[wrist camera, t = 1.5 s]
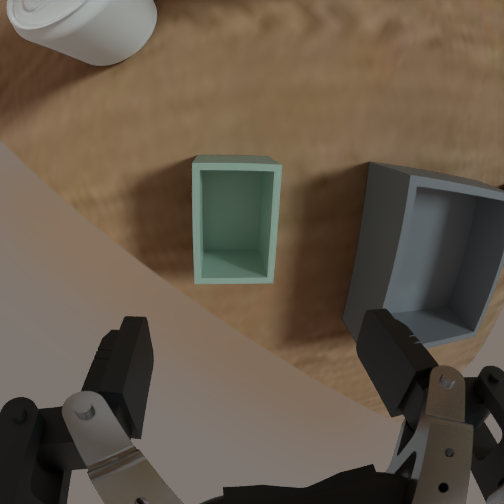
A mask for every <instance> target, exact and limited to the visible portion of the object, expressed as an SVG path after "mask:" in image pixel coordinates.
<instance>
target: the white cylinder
mask: <svg viewBox="0 0 504 504" xmlns="http://www.w3.org/2000/svg"><path fill="white" fill-rule="evenodd" d="M6 9H7V16H8V18H9V20H10V22H11V23H12V24H13V27H14V29H15V31H16V32H17V33H18V34H19V35H20V36H21V37H22V38H24V39H26V40H28V41H31V42H33V43H36V44H39V45H42V46H45V47H47V48H50V49H53V50H55V51H58V52H61V53H63V54H66V55H68V56H71V57H73V58H76V59H78V60H81V61H83V62H85V63H88V64H91V65H96V66H107V65H112V64H116V63H118V62H121V61H123V60H125V59H127V58H129V57H130V56H132V55H133V54H135V53H136V52H137V51H138V50H140V49H141V48H142V47H143V46H144V44H145V43H146V42H147V41H148V39H149V38H150V36H151V35H152V33H153V31H154V28H155V25H156V21H157V9H156V5H155V3H154V1H153V0H7V6H6Z"/></svg>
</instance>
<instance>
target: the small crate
mask: <svg viewBox="0 0 504 504" xmlns="http://www.w3.org/2000/svg"><path fill="white" fill-rule="evenodd" d="M281 173H282V164H280V163H278V162H277V161H275V160H273V159H272V158H270V157H268V156H246V155H197V157H196V158H195V159H194V161H193V162H192V220H193V256H194V280H195V284H248V283H273V280H274V268H275V255H276V243H277V230H278V216H279V202H280V188H281Z"/></svg>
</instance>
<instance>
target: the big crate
mask: <svg viewBox="0 0 504 504" xmlns="http://www.w3.org/2000/svg"><path fill="white" fill-rule="evenodd" d="M503 263H504V190H501V189H499V188H496V187H494V186H491V185H488V184H485V183H483V182H480V181H476V180H471V179H467V178H462V177H458V176H453V175H448V174H443V173H438V172H432V171H427V170H421V169H415V168H409V167H403V166H397V165H390V164H383V163H376V162H369V168H368V177H367V185H366V193H365V200H364V207H363V214H362V221H361V227H360V233H359V239H358V245H357V251H356V256H355V262H354V267H353V272H352V277H351V282H350V287H349V291H348V296H347V301H346V305H345V309H344V314H343V318H342V320H343V322H344V324H345V325H346V327H347V329H348V330H349V332H350V334H351V335H352V337H353V339H354V340H355V342H356V344H357V339H358V336H359V332H360V329H361V325H362V321H363V318H364V314H365V312H366V311H367V310H372V309H382V308H386V309H387V310H388V311H389V312H390V313H391V314H392V316H393V317H394V318H395V319H396V320H399V321H400V322H402V323H403V324H405V325H406V326H408V327H409V329H410V330H411V331H412V332H413V333H414V336H416V337H417V338H418V340H419V341H420V343H422V345H423V346H424V347H425V348H430V347H435V346H439V345H443V344H447V343H451V342H455V341H459V340H463V339H467V338H470V337H474V336H475V335H476V333H477V331H478V329H479V327H480V324H481V322H482V320H483V317H484V315H485V313H486V310H487V308H488V305H489V303H490V300H491V298H492V295H493V292H494V290H495V287H496V284H497V281H498V279H499V276H500V273H501V270H502V267H503Z"/></svg>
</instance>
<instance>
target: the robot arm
mask: <svg viewBox="0 0 504 504" xmlns="http://www.w3.org/2000/svg"><path fill="white" fill-rule="evenodd" d="M356 350H357V355H358V357H359V359H360V361H361V363H362V364H363V366H364V368H365V370H366V371H367V373H368V375H369V377H370V379H371V381H372V382H373V384H374V386H375V388H376V390H377V391H378V393H379V395H380V397H381V399H382V401H383V403H384V404H385V406H386V408H387V410H388V412H389V414H390V416H391V418H392V417H395V416H399V415H402V414H403V415H404V417H405V419H404V421H403V422H402V425H401V429H400V433H399V437H398V440H397V444H396V447H395V451H394V454H393V457H392V460H391V463H390V465H389V467H388V469H387V470H386V472H376V471H375V468H374V465H373V464H371V465H367V466H364V467H360V468H357V469H352V470H348V471H344V472H340V473H338V474H336V475H334V476H331V477H329V478H327V479H325V480H323V481H321V482H318V483H316V484H314V485H311V486H309V487H305V488H293V487H280V486H268V485H255V486H240V487H223V493H224V495H223V496H220V497H215V498H213V499H210V500H207V501H205V502H203V503H200V504H466V498H467V492H468V486H469V478H470V470H471V471H472V473H473V475H474V478H475V479H476V482H477V484H478V486H479V488H480V490H481V492H482V494H483V497H484V499H485V501H486V504H504V372H503V371H502V370H501V369H500V368H498V367H495V366H486V367H484V368H483V369H482V370H481V372H480V374H479V375H478V377H463V376H462V374H461V373H460V372H459V371H458V370H456V369H455V368H452V367H450V366H445V365H441V366H439V365H438V363H437V362H436V361H435V360H434V358H433V357H432V356H431V355H430V353H429V352H428V351H427V349H426V348H425V347H424V346H423V345H422V343H420V341H419V340H418V338H417V337H416V336H414V333H413V332H412V331H411V330H410V329H409V327H408V326H406V325H405V324H403V323H402V322H400V321H399V320H396V319H395V318H394V317H393V316H392V314H391V313H390V312H389V311H388V310H387V309H386V308H382V309H372V310H367V311H366V312H365V314H364V318H363V321H362V325H361V329H360V332H359V336H358V339H357V344H356ZM153 359H154V358H153V348H152V343H151V338H150V332H149V327H148V321H147V318H146V317H132V316H125V317H124V319H123V322H122V324H121V327H120V330H111V331H110V332H109V333H108V334H107V335H106V336H104V337H103V338H102V340H101V343H100V345H99V347H98V351H97V352H96V355H95V357H94V360H93V362H92V364H91V367H90V369H89V372H88V375H87V377H86V380H85V382H84V385H83V387H82V390H81V392H78V393H75V394H73V395H71V396H70V397H69V398H68V399H67V400H66V401H65V402H64V404H63V406H61V407H54V408H44V409H38V408H37V406H36V405H35V403H34V402H33V401H32V400H30V399H28V398H25V397H18V398H14V399H12V400H10V401H8V402H7V403H6V404H5V405H4V406H3V408H2V410H1V412H0V504H67V498H68V491H69V484H70V478H71V471H72V470H76V469H88V472H87V473H88V476H89V478H90V480H91V481H92V484H93V485H94V487H95V489H96V490H97V492H98V494H99V495H100V497H101V499H102V500H103V502H104V504H183V503H182V501H181V500H180V499H179V498H178V497H177V496H176V495H175V493H174V492H173V491H172V490H171V489H170V488H169V486H168V485H167V484H166V483H165V482H164V480H163V479H162V478H161V477H160V476H159V474H158V473H157V472H156V471H155V469H154V468H153V467H152V465H151V464H150V463H149V461H148V460H147V459H146V458H145V456H144V455H143V454H142V452H141V451H140V450H137V449H136V447H135V446H134V445H133V443H132V442H131V438H135V439H141V435H142V428H143V421H144V415H145V409H146V403H147V397H148V392H149V386H150V381H151V375H152V370H153V362H154V360H153ZM490 413H491V414H492V415H493V417H494V418H495V420H496V421H497V423H498V425H499V426H500V428H501V430H502V439H501V441H500V443H499V444H497V442H496V440H495V439H494V437H493V435H492V434H491V432H490V430H489V429H488V427H487V426H486V424H485V422H484V420H485V419H486V418H487V417H488V415H489V414H490Z"/></svg>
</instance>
